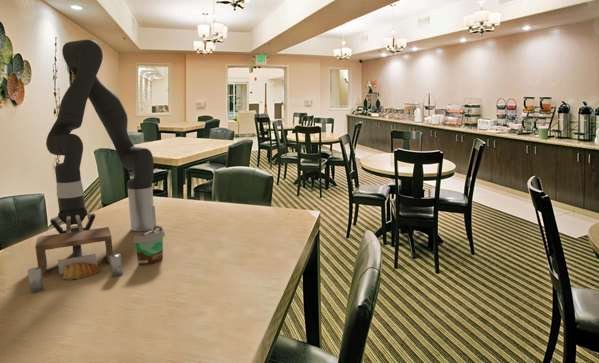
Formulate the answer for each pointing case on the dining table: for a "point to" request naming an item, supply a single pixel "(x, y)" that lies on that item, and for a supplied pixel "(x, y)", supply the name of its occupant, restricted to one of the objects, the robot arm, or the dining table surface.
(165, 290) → the dining table surface
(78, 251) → the scraper
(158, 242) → the food container
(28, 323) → the dining table surface
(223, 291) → the dining table surface
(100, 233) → the low shelf
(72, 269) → the pastry
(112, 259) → the goal posts
